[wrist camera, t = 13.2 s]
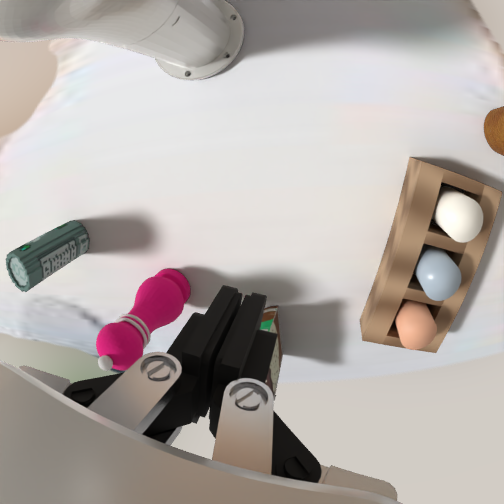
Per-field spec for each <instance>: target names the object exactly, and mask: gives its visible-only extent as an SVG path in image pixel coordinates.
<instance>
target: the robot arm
mask: <svg viewBox="0 0 504 504" xmlns="http://www.w3.org/2000/svg"><path fill="white" fill-rule="evenodd" d="M235 18H236V20H234V19H235ZM61 38H76V39H84V40H91V41H96V42H100V43H104V44H108V45H112V46H116V47H119V48H123V49H127V50H130V51H133V52H137V53H140V54H143V55H146V56H150V57H153V58H155V60H156V62H157V64H158V65H159V67H160V68H161V69H162V70H163V71H164V72H166V73H167V74H169V75H171V76H173V77H176V78H179V79H183V80H201V79H204V78H208V77H211V76H213V75H215V74H217V73H219V72H220V71H222V70H223V69H225V68H226V67H227V66H228V65H229V64H230V63H231V62H232V61H233V60H234V58H235V57H236V56H237V54H238V52H239V50H240V48H241V46H242V43H243V39H244V25H243V21H242V19H241V16H240V15H239V13H238V12H237V10H236V9H235V8H234V7H233V6H232V5H231V4H229V3H228V2H226V1H225V0H0V41H6V42H33V41H43V40H51V39H61ZM228 55H230V57H229V58H227V56H228ZM190 73H191V75H190V76H189V74H190ZM266 298H267V296H266V295H261V294H257V293H252V295H251V296H249V295H246V296H245V298H244V300H243V302H242V304H241V300H242V294H241V293H238V289H237V288H233V287H229V286H225V285H223V286H222V288H221V289H220V291H219V293H218V294H217V296H216V297H215V299H214V301H213V302H212V304H211V305H210V307H209V309H208V310H207V312H206V313H205V315H203V314H200V313H196V312H195V313H193V314H192V316H191V317H190V319H189V320H188V322H187V323H186V325H185V326H184V327H183V329H182V330H181V332H180V333H179V335H178V336H177V338H176V339H175V341H174V342H173V344H172V345H171V347H170V348H169V350H168V351H167V353H163V352H152V353H148V354H145V355H144V356H142V357H141V358H139V359H138V360H137V361H136V362H135V363H134V364H133V365H132V366H131V367H130V368H129V369H128V370H127V371H126V372H124V373H119V374H115V375H109V376H104V377H99V378H93V379H88V380H82V381H78V382H74V383H73V384H72V383H70V381H69V380H68V379H65V378H62V377H58V376H56V375H52V374H49V373H46V372H43V371H40V370H37V369H35V368H32V367H28V366H20V367H15V366H13V365H11V364H8V363H6V362H3V361H1V360H0V504H402V503H400V502H398V501H397V492H396V490H395V488H394V487H393V486H392V485H391V484H390V483H388V482H385V481H383V480H379V479H375V478H371V477H368V476H364V475H360V474H357V473H353V472H351V471H347V470H344V469H341V468H338V467H335V466H332V465H331V466H330V467H325V466H323V465H320V464H319V462H318V461H317V459H316V458H315V457H314V456H313V455H312V453H311V452H310V451H309V450H308V449H307V448H306V447H305V446H304V445H303V444H302V443H301V441H300V440H299V439H298V438H297V437H296V436H295V435H294V434H293V432H291V430H290V429H289V428H288V427H287V426H286V424H285V423H284V422H283V421H282V420H281V419H280V418H279V416H278V415H277V414H276V413H275V412H274V410H273V406H274V404H273V403H274V398H273V393H272V391H271V390H270V388H269V387H268V386H267V385H265V382H266V379H267V375H268V371H269V367H270V363H271V359H272V355H273V352H274V348H275V344H276V340H277V336H278V334H277V333H273V332H268V331H264V330H260V327H261V322H262V318H263V313H264V308H265V303H266ZM240 306H241V307H240ZM209 407H210V412H209V419H210V427H209V429H210V431H211V433H212V434H213V436H214V437H215V439H216V440H215V446H214V451H213V457H212V460H210V459H207V458H204V457H201V456H198V455H195V454H192V453H189V452H186V451H183V450H180V449H178V448H175V447H172V446H170V445H171V444H172V443H173V441H174V440H175V438H176V437H177V436H178V434H179V433H180V431H181V429H182V426H183V425H187V424H190V423H191V422H193V423H197V421H198V419H199V417H200V416H202V417H205V416H206V414H207V412H208V410H209Z"/></svg>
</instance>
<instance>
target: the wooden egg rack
mask: <svg viewBox="0 0 504 504" xmlns="http://www.w3.org/2000/svg"><path fill="white" fill-rule="evenodd" d="M441 182H444V183H447V184H449V185H452V186H455V187H458V188H461V189H463V190H465V191H464V195H466V196H468V197H469V198H471V199H473V200H475V201H476V202H477V203H478V204H479V205H480V207H481V209H482V212H483V224H482V228H481V230H480V232H479V233H478V235H477V236H476V237H475V238H474V239H472V240H471V241H468V242H464V243H462V242H457V241H455V240H454V239H452V238H451V237H450V236H449V235H448V234H447V233H446V232H445V231H444V230H443V229H442V228H441V227H440V226H438V225H434V224H431V223H430V221H431V218H432V215H433V211H434V208H435V204H436V201H437V197H438V193H439V190H440V186H441ZM501 196H502V192H501V191H499V190H497V189H495V188H492V187H490V186H488V185H485V184H483V183H481V182H478V181H476V180H473V179H471V178H468V177H465V176H463V175H460V174H458V173H455V172H452V171H449V170H447V169H444V168H441V167H438V166H435V165H432V164H429V163H426V162H423V161H420V160H417V159H414V158H411V157H410V158H409V162H408V167H407V171H406V175H405V179H404V183H403V187H402V191H401V195H400V199H399V203H398V207H397V210H396V214H395V217H394V221H393V224H392V228H391V231H390V235H389V238H388V241H387V244H386V247H385V251H384V254H383V257H382V260H381V263H380V266H379V269H378V272H377V275H376V278H375V280H374V283H373V286H372V289H371V292H370V294H369V297H368V300H367V302H366V305H365V308H364V310H363V313H362V315H361V318H360V325H361V333H362V341H367V342H373V343H378V344H384V345H389V346H395V347H401V348H405V347H404V346H403V345H402V343H401V340H400V337H399V333H398V330H397V326H396V323H395V319H394V318H395V316H396V313H397V311H398V309H399V306H400V304H401V302H402V299H403V298H404V299H409V300H414V301H418V302H423V303H426V305H427V307H428V309H429V311H430V313H431V315H432V317H433V319H434V322H435V324H436V326H437V333H436V336H435V338H434V339H433V341H432V342H431V343H430V344H429V345H427V346H426V347H424V348H421V349H417V350H419V351H426V352H432V353H436V352H437V350H438V349H439V347H440V345H441V343H442V341H443V340H444V338H445V336H446V334H447V332H448V330H449V328H450V326H451V325H452V323H453V321H454V319H455V317H456V315H457V313H458V311H459V308H460V306H461V304H462V302H463V300H464V298H465V296H466V293H467V291H468V289H469V287H470V284H471V282H472V280H473V277H474V275H475V273H476V270H477V268H478V265H479V263H480V260H481V257H482V255H483V252H484V249H485V247H486V244H487V241H488V238H489V235H490V232H491V229H492V226H493V223H494V220H495V217H496V213H497V210H498V207H499V203H500V199H501ZM423 243H425V244H428V245H432V246H435V247H439V248H443V249H446V253H447V255H448V256H449V257H450V258H451V259H452V260H453V262H454V263H455V264H456V265H457V266H458V268H459V269H460V272H461V283H460V286H459V288H458V290H457V291H456V292H455V294H454V295H452V296H451V297H450V298H448V299H446V300H442V301H435V300H432V299H430V298H429V297H428V296H427V295H426V293H425V291H424V289H423V288H422V286H421V284H420V282H419V280H418V278H417V276H416V275H415V274H413V271H414V269H415V266H416V263H417V261H418V258H419V255H420V252H421V249H422V246H423Z"/></svg>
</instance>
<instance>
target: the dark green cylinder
mask: <svg viewBox="0 0 504 504" xmlns="http://www.w3.org/2000/svg"><path fill="white" fill-rule="evenodd" d="M86 232H87V231H86V230H85V228H84V227H82V224H81V223H79V222H77V221H75V220H74V221H69V222H67V223H65V224H63V225H61V226H59V227H57V228H55V229H53V230H51V231H49V232H47V233H45V234H43V235H41V236H39V237H37V238H35V239H34V240H32V241H30V242H28V243H26V244H24V245H22V246H20V247H19V248H17V249H15V250H13V251H11V252H10V253H9V254H8V255H7V258H6V266H7V270H8V272H9V276H10V278H11V279H12V282H13V283H15V286H16V287H17V288H19V289H20V290H21V291H22V292H23V291H25V292H27V291H28V290H30V289H31V288H33V287H34V286H35V285H37V284H38V283H40V282H41V281H43V280H44V279H46V278H47V277H49V276H50V275H52V274H53V273H55V272H56V271H58V270H59V269H61V268H62V267H64V266H65V265H67V264H68V263H70V262H71V261H73V260H74V259H76V258H77V257H79V256H81V255H82V254H84V253H85V252H87V249H89V238H88V233H86Z"/></svg>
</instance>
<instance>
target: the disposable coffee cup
mask: <svg viewBox="0 0 504 504" xmlns="http://www.w3.org/2000/svg"><path fill="white" fill-rule="evenodd" d="M484 133H485V137H486V140H487V142H488V144H489V145H490V147H491V148H492V149H493V150H494V151H495V152H497V153H499V154H501V155H503V156H504V106H503V107H500V108H497V109H493V110H491V111H490V112H489V113H488V114H487V116H486V118H485V122H484Z"/></svg>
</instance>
